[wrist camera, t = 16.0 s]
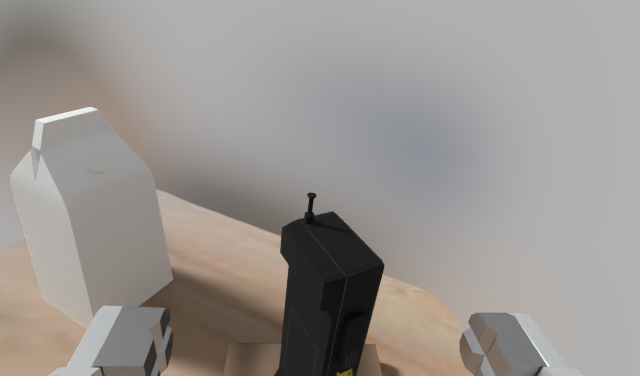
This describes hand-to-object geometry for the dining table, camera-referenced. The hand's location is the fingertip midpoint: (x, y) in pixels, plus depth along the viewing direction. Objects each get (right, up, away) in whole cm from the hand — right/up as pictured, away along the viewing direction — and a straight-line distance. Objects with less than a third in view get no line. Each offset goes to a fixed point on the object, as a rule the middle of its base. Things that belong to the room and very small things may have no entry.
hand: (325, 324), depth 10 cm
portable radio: (-1, -20, +28) cm, 34 cm away
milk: (-30, -11, +43) cm, 53 cm away
